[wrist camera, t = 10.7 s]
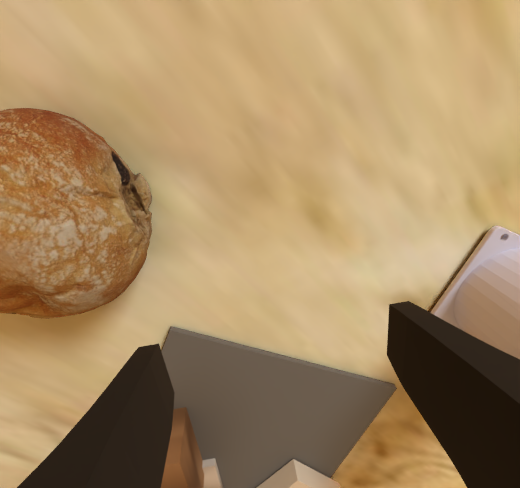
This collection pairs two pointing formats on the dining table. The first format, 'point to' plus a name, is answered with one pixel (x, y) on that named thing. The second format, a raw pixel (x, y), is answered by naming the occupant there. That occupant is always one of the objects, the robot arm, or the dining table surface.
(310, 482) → the flat beige block
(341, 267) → the dining table surface
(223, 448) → the mat
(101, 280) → the bread roll
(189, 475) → the tall brown post
